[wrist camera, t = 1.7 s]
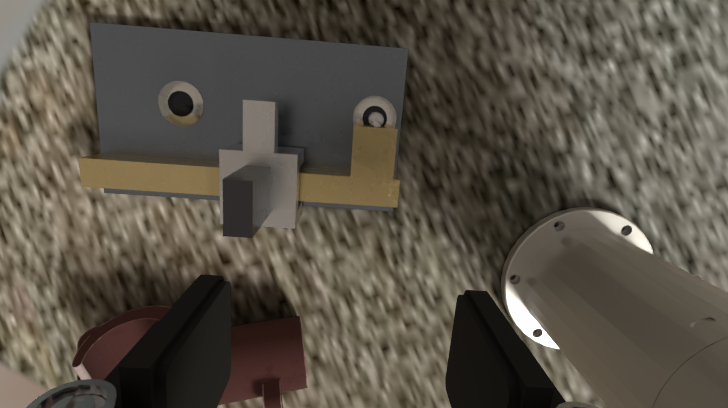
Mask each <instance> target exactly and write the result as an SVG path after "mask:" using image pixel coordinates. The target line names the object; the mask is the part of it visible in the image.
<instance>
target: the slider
mask: <svg viewBox="0 0 728 408" xmlns="http://www.w3.org/2000/svg"><path fill="white" fill-rule="evenodd" d="M278 108H279V102H272V101H258V100H243V144H237V143H235V144H232V145H230V146H227V147H224V148H221V149H219V176H220V224H223V236H231V237H247V238H253V236H254V235H255V234H256V232H257V231H258V230H259V228H260V227H261V226H262V227H277V228H293V229H295V228H296V225H297V223H298V221H299V219H300V217H301V215H302V201H298V194H299V167H300V166H301V165H302V163H303V162H304V148H293V147H279V146H278Z"/></svg>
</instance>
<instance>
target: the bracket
mask: <svg viewBox="0 0 728 408" xmlns="http://www.w3.org/2000/svg"><path fill="white" fill-rule="evenodd" d="M170 309H171V307H167V306H146V307H140V308H136V309H133V310H129V311H127V312H124V313H122V314H120V315H117V316H116V317H114V318H112V319H110V320H108V321H107V322H105V323H104V324H102V325H101V326H98V327H94V328H92V329H90V330H88V331H87V332H85V333H84V334H83V335H82V336H81V337H80V339H79V341H78V345H77V353H76V355H75V357H74V360H73V363H72V367H73V368H74V370H75V371H76V373H77V381H78V380H85V379H99V380H104V379H105V378H106V377H107V375H108V374H109V373H110V372H111V371H112V370H113V369H114V368H115V367H116V365H117V364H118V363H119V362H120V361H121V360H122V359H123V358H124V357H125V355H126V354H127V353H128V352H129V351H130V350H131V349H132V348H133V347H134V345H135V344H136V343H137V342H138V341H139V340H140V339H141V338H142V337H143V335H144V334H145V333H146V332H147V331H148V330H149V329H150V328H151V327H152V325H153V324H154V323H156V322H157V321H160V320H161V319H162V318H163V316H164V315H165V314H166V313H167V312H168V311H169V310H170ZM304 388H307V374H306V364H305V354H304V345H303V336H302V329H301V321H300V316H295V317H289V318H283V319H276V320H270V321H263V322H257V323H251V324H244V325H238V326H231V374H230V378H229V381H228V384H227V386H226V388H225V390H224V393H223V395H222V397H221V399H220V402H219V404H218V405H221V404H226V403H232V402H237V401H242V400H247V399H252V398H257V397H262V396H263V406H264V408H283V405H282V393H283V392H288V391H293V390H299V389H304Z"/></svg>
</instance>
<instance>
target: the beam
mask: <svg viewBox="0 0 728 408" xmlns="http://www.w3.org/2000/svg"><path fill="white" fill-rule="evenodd" d="M368 121H369V123H370V125H362V124H354V128H353V143H352V158H351V171H348V170H334V169H320V168H305V167H299V194H298V201H306V202H321V203H336V204H351V205H366V206H381V207H398V197H399V186H400V179H399V177H398V176H397V174H394V164H395V153H396V143H397V132H398V129H397V128H395V127H389V126H381V125H382V124H383V122H384V118H383V116H382V114H380V113H378V112H371V113H370V114H369V116H368ZM79 167H80V177H81V187H94V188H109V189H124V190H140V191H155V192H170V193H185V194H200V195H215V196H220V176H219V161H205V160H191V159H176V158H162V157H148V156H133V155H119V154H104V153H100V154H95V155H90V156H85V157H81V158H79Z"/></svg>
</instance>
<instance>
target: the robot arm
mask: <svg viewBox="0 0 728 408" xmlns="http://www.w3.org/2000/svg"><path fill="white" fill-rule="evenodd" d="M555 223H556V224H555ZM554 224H555V225H554ZM511 276H513V277H511ZM501 294H502V299H503V304H504V306H505V308H506V310H507V313H508V315H509V316H510V318H511V319H512V321H513V322H514V324H515V325H516V326H517V327H518V328H519V329H520V330H521V331H522V333H523V334H525V335H526V336H527V337H529V338H530V339H531V340H533V341H535V342H537V343H539V344H542V345H544V346H547V347H551V348H555V349H560V350H561V351H562V352H563V354H564V355H565V356H566V357H567V358H568V360H569V361H570V362H571V363H572V364H573V366H574V367H575V368H576V369H577V370H578V372H579V373H580V374H581V375H582V377H583V378H584V379H585V380H586V381H587V383H588V384H589V385H590V386H591V387H592V389H593V390H594V391H595V392H596V393H597V395H598V396H599V397H600V398H601V399H602V401H603V402H604V403H605V404H606V405H607V407H608V408H728V293H727V292H725V291H723V290H721V289H719V288H717V287H716V286H714V285H712V284H710V283H708V282H706V281H704V280H702V279H701V278H700V277H699V276H695V275H692V274H690V273H688V272H686V271H684V270H682V269H681V268H679V267H677V266H675V265H673V264H671V263H669V262H667V261H665V260H663V259H661V258H659V257H657V256H655V255H654V252H653V249H652V246H651V244H650V242H649V241H648V239H647V237H646V235H645V234H644V233H643V232H642V231H641V230H640V229H639V228H638V227H637V225H636V224H634V223H633V222H631V221H630V220H628V219H627V218H625V217H623V216H621V215H619V214H616V213H614V212H612V211H608V210H605V209H601V208H596V207H576V208H568V209H565V210H562V211H558V212H555V213H553V214H551V215H549V216H547V217H545V218H543V219H541V220H539V221H538V222H537V223H535V224H534V225H533V226H531V227H530V228H528V229H527V230H526V232H525V233H524V234H523V235H522V236H521V237H520V238H519V239H518V240H517V241H516V243H515V244H514V246H513V247H512V249H511V250H510V252H509V254H508V257H507V259H506V261H505V263H504V267H503V272H502V276H501ZM230 374H231V286H230V282H227V281H224V278H223V276H215V275H200V276H199V277H198V278H197V279H196V280H195V281H194V283H193V284H192V285H191V286H190V287H189V288H188V289H187V290H186V292H185V293H184V294H183V295H182V296H181V297H180V298H179V300H178V301H177V302H176V303H175V304H174V305H173V306H172V307H171V309H170V310H169V311H168V312H167V313H166V314H165V315H164V316H163V318H162V319H161V320H160V321H157V322H156V323H154V324H153V325H152V327H151V328H150V329H149V330H148V331H147V332H146V333H145V334H144V335H143V337H142V338H141V339H140V340H139V341H138V342H137V343H136V344H135V345H134V347H133V348H132V349H131V350H130V351H129V352H128V353H127V354H126V355H125V357H124V358H123V359H122V360H121V361H120V362H119V363H118V364H117V365H116V367H115V368H114V369H113V370H112V371H111V372H110V373H109V374H108V375H107V377H106V378H105V379H104V380H99V379H85V380H78V381H74V382H70V383H66V384H63V385H61V386H58V387H56V388H53V389H51V390H49V391H48V392H46V393H44V394H43V395H41V396H39V397H38V398H37V399H35V400H34V401H33V402H32V403H31V404H30V405H28V407H27V408H217V406H218V404H219V402H220V399H221V397H222V395H223V393H224V390H225V388H226V386H227V384H228V381H229V378H230ZM446 391H447V394H448V398H449V401H450V404H451V407H452V408H598V407H595V406H593V405H590V404H586V403H581V402H566V401H565V400H564V399H563V397H562V396H561V394H560V393H559V391H558V390H557V389H556V387H555V386H554V384H553V383H552V382H551V380H550V379H549V377H548V376H547V374H546V373H545V372H544V370H543V369H542V367H541V366H540V364H539V363H538V362H537V360H536V359H535V357H534V356H533V354H532V353H531V352H530V350H529V349H528V347H527V346H526V344H525V343H524V342H523V341H522V340H521V339H520V338H519V336H518V335H517V334H516V332H515V331H514V329H513V328H512V326H511V325H510V324H509V322H508V321H507V319H506V318H505V316H504V315H503V313H502V312H501V311H500V309H499V308H498V306H497V305H496V303H495V302H494V301H493V299H492V298H491V296H490V295H489V293H488V292H487V291H474V290H466V291H465V293H464V295H459V296H458V298H457V303H456V310H455V317H454V324H453V331H452V338H451V345H450V352H449V359H448V365H447V372H446Z"/></svg>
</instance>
